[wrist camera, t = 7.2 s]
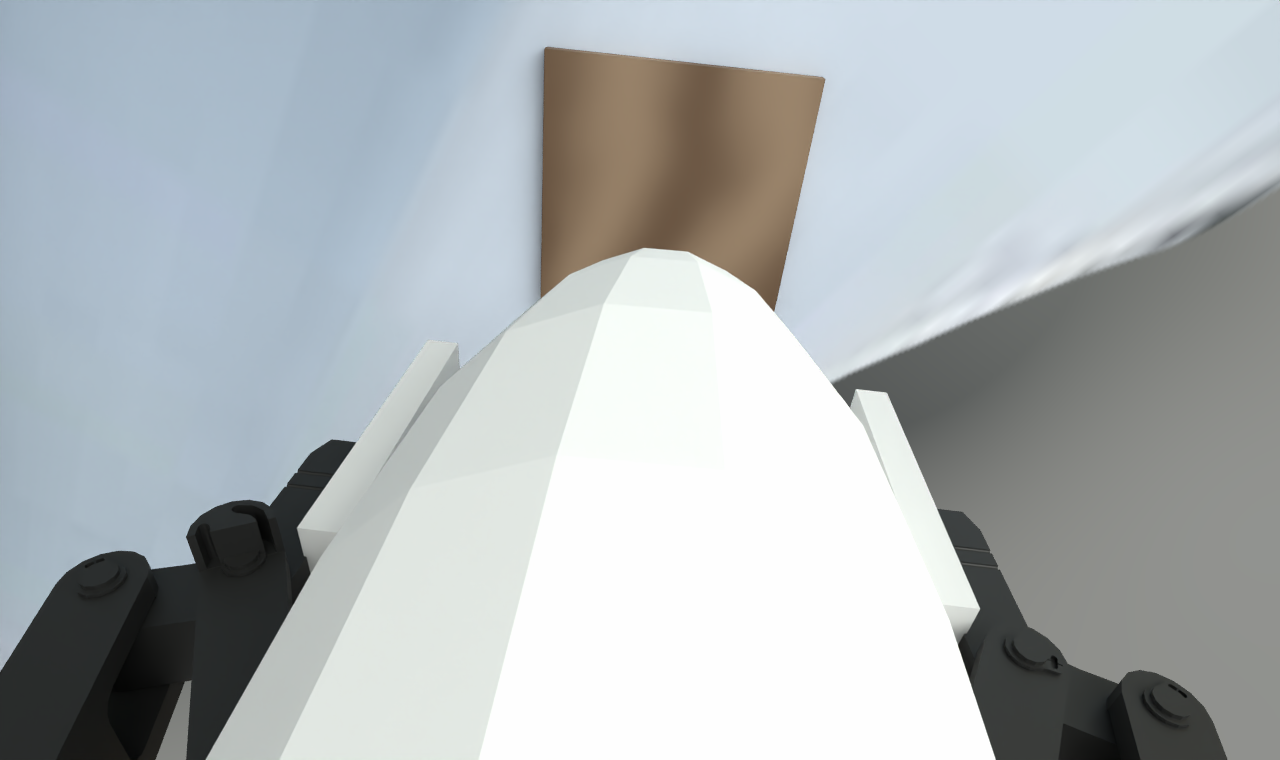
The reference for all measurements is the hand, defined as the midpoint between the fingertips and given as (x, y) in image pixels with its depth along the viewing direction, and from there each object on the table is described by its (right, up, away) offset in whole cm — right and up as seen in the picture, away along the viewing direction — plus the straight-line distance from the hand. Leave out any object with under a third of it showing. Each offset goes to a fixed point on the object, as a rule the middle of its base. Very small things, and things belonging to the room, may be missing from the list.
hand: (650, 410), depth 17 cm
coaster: (+1, +10, +15) cm, 18 cm away
